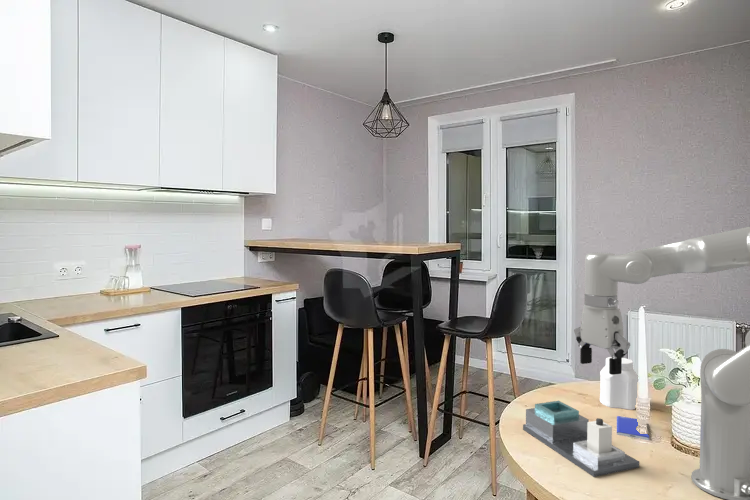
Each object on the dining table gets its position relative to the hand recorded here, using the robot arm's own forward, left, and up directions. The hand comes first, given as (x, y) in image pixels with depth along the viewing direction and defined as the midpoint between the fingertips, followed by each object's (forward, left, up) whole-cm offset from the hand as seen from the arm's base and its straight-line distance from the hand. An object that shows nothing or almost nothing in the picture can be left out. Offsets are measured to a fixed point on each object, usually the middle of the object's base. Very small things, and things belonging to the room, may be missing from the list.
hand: (600, 368), depth 118 cm
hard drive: (+12, -24, -25) cm, 36 cm away
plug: (0, 0, -23) cm, 23 cm away
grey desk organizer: (+8, 0, -24) cm, 25 cm away
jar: (+29, -36, -24) cm, 52 cm away
